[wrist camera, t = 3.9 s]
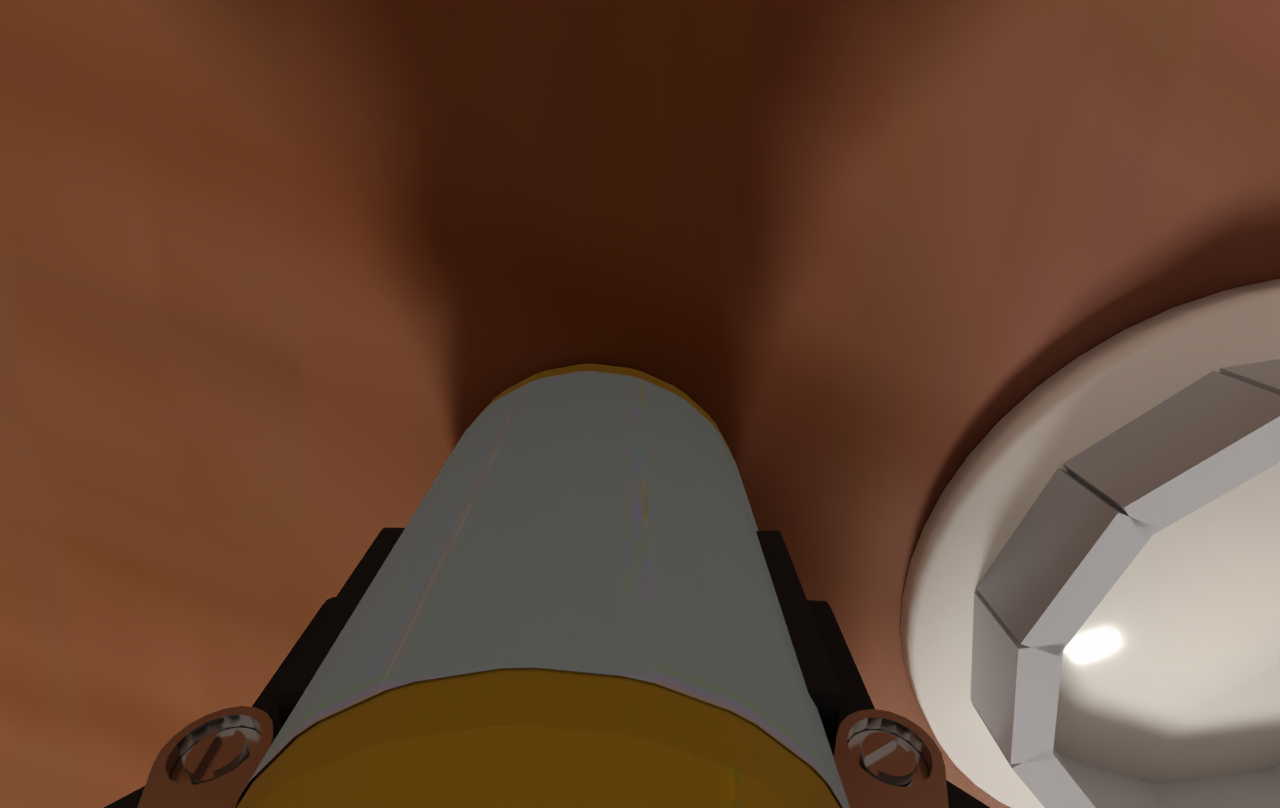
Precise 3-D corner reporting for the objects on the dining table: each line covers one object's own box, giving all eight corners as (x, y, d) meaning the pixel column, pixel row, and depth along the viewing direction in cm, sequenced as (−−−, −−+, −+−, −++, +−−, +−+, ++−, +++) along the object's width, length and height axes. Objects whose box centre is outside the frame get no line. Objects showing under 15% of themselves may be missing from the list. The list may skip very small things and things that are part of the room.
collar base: (1622, 621, 18) (1805, 707, 15) (1064, 878, 22) (1127, 985, 19) (1463, 104, 13) (1689, 89, 10) (779, 551, 17) (809, 630, 14)
